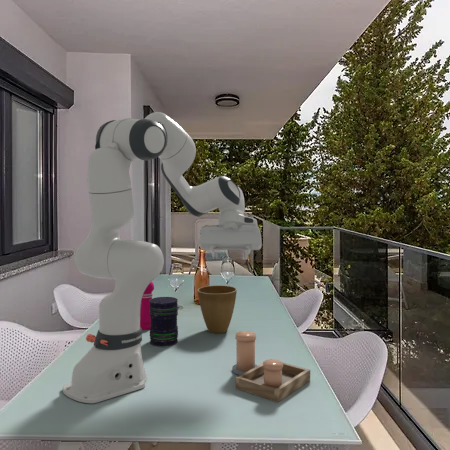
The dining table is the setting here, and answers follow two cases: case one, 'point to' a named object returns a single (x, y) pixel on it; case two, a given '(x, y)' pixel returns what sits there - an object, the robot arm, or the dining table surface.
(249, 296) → the dining table surface
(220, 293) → the plant pot
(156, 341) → the storage jar
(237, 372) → the grey disc
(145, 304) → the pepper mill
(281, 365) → the small pot
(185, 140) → the robot arm
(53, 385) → the dining table surface
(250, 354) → the tall pot
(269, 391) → the wooden tray
